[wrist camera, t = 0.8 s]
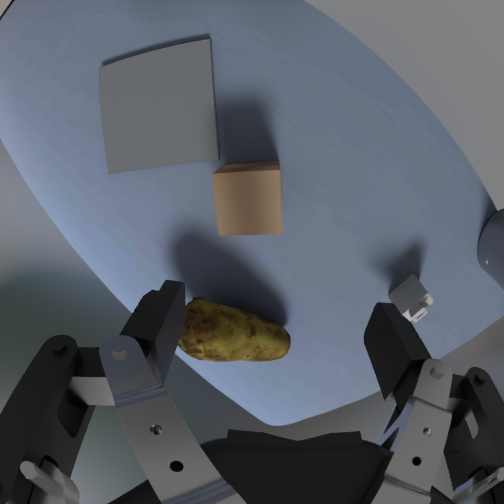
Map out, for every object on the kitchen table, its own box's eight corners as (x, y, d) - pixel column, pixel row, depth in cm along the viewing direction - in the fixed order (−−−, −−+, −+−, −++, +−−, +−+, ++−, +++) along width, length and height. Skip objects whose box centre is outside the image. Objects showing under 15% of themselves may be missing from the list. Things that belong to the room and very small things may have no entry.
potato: (250, 359, 36) (244, 406, 29) (175, 299, 33) (151, 344, 26) (298, 328, 34) (301, 378, 26) (220, 258, 30) (203, 301, 23)
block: (279, 160, 26) (279, 170, 20) (281, 211, 28) (282, 233, 22) (226, 163, 26) (212, 173, 21) (230, 213, 28) (219, 235, 23)
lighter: (413, 272, 29) (442, 313, 22) (419, 281, 29) (448, 322, 22) (368, 310, 32) (386, 357, 24) (375, 318, 32) (394, 364, 25)
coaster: (211, 41, 21) (209, 38, 20) (220, 158, 26) (218, 159, 25) (103, 68, 22) (99, 67, 21) (112, 172, 27) (108, 174, 26)
